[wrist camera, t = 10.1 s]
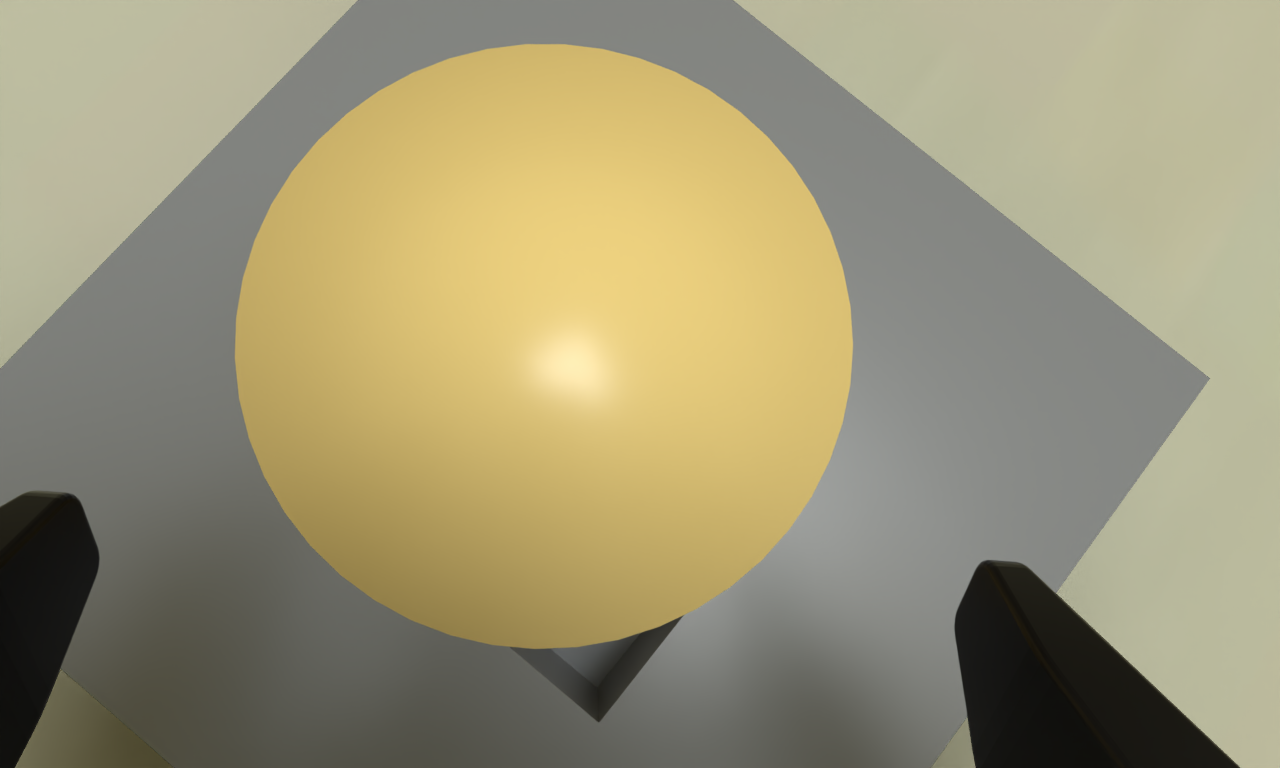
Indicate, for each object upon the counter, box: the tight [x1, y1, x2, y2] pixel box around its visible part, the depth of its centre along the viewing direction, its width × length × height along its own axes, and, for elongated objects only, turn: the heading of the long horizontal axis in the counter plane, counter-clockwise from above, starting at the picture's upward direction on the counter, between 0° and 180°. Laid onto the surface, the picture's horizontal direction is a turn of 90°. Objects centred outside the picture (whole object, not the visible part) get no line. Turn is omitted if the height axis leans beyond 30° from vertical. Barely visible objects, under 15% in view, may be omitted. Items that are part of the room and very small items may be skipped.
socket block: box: [0, 0, 1210, 768], centre depth 17 cm, size 16×16×4 cm
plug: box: [235, 44, 853, 649], centre depth 12 cm, size 4×4×12 cm
